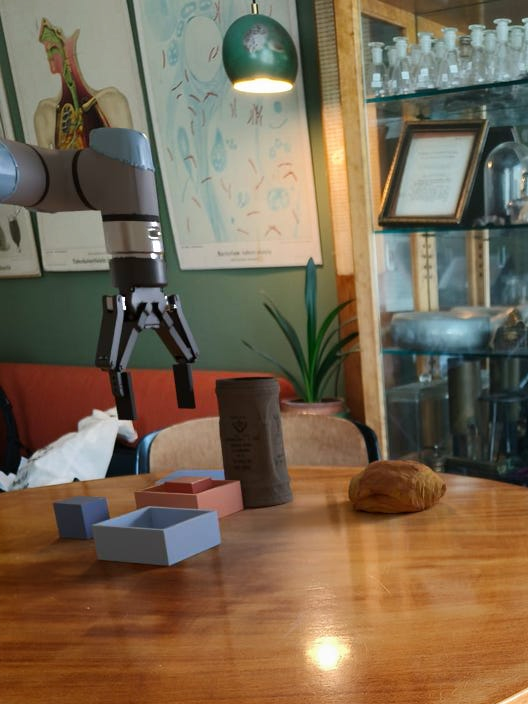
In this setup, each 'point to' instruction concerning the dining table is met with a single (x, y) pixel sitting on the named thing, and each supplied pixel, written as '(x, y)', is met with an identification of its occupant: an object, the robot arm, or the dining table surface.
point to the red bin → (195, 498)
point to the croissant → (395, 487)
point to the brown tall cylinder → (253, 439)
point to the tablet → (194, 474)
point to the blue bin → (156, 535)
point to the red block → (188, 485)
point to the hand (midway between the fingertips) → (158, 414)
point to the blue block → (80, 516)
